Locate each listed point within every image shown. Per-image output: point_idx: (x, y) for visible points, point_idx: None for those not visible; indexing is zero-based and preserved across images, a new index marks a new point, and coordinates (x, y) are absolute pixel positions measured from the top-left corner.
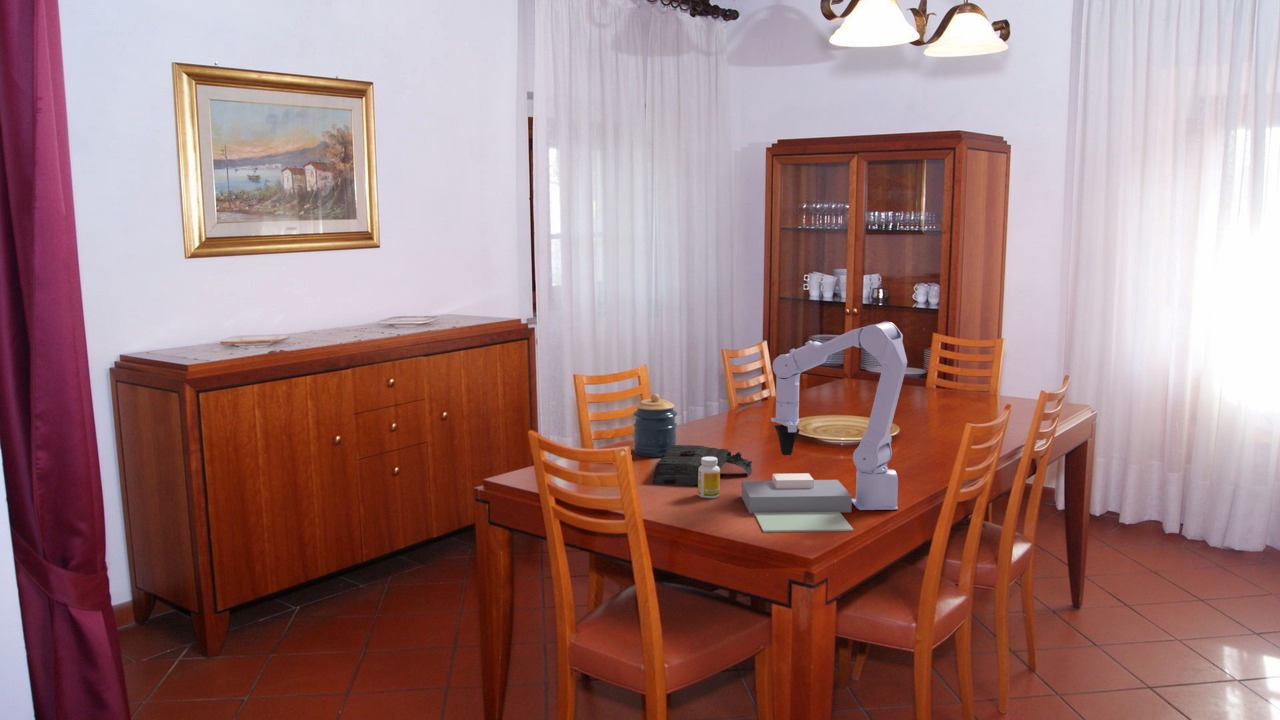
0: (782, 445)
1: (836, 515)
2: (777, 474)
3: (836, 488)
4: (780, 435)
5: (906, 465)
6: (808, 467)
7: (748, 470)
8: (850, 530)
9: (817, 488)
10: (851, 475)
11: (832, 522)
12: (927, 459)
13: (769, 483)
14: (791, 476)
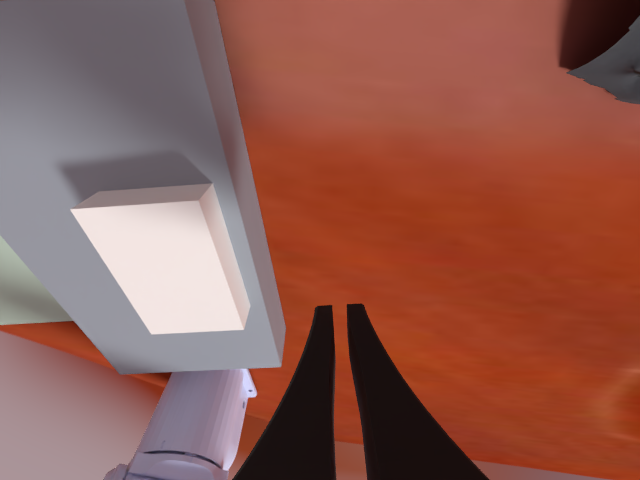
0: (302, 360)
1: None
2: (190, 222)
3: (183, 356)
4: (250, 456)
5: (503, 434)
6: (584, 301)
7: (617, 82)
8: None
9: None
10: (461, 367)
11: (10, 295)
12: (528, 454)
13: (173, 166)
14: (174, 274)
